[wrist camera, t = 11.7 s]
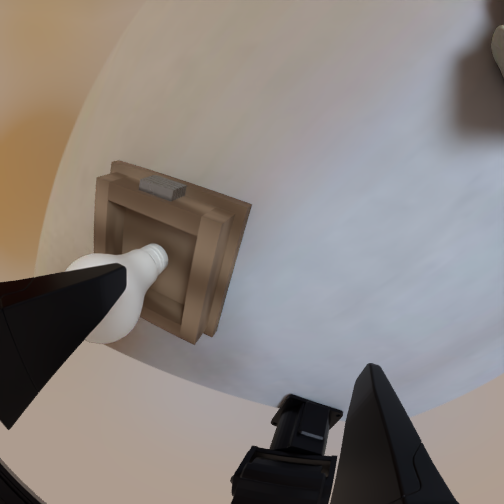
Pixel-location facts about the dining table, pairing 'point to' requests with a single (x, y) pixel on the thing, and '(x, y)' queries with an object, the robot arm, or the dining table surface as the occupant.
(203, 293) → the bulb holder
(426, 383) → the dining table surface
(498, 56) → the ceramic sculpture
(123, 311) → the lightbulb
